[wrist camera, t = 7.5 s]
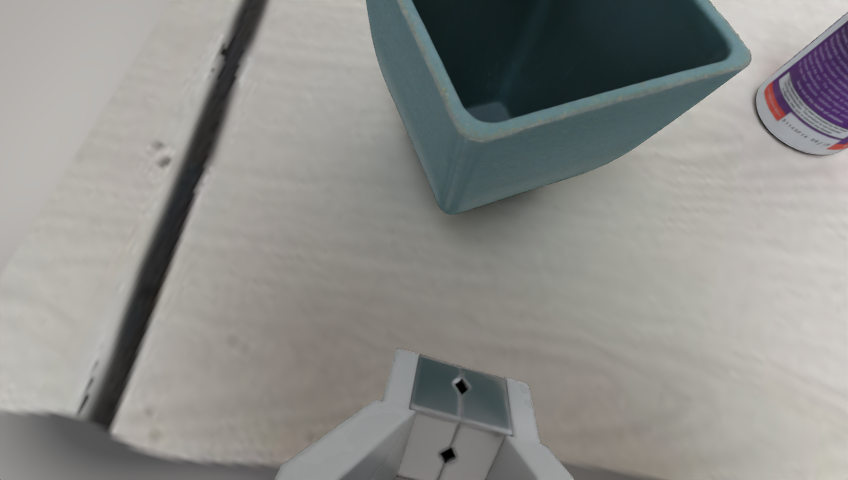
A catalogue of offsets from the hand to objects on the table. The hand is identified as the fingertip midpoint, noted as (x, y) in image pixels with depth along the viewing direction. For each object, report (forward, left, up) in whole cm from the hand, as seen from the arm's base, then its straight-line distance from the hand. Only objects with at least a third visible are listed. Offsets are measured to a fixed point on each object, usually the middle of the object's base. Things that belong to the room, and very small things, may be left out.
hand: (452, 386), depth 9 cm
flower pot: (0, +11, -7) cm, 13 cm away
